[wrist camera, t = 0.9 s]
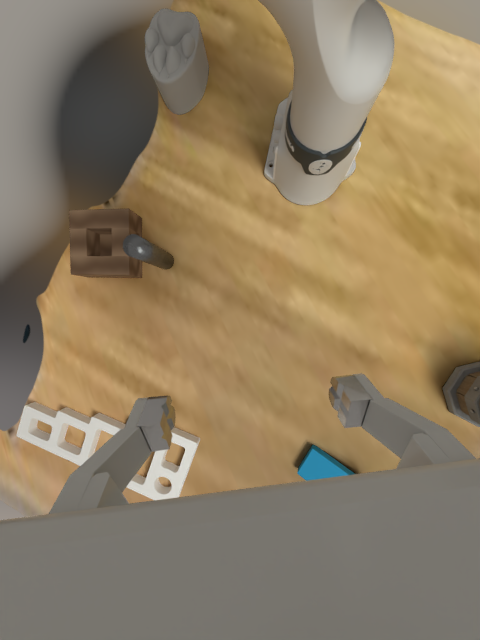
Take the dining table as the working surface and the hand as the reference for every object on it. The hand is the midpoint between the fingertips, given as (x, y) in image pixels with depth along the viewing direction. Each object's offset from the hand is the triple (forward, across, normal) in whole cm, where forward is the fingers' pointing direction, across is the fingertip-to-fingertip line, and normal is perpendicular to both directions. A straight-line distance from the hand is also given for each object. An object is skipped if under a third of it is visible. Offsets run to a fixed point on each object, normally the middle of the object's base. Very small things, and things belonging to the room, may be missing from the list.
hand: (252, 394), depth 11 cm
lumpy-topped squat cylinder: (+61, +6, -32) cm, 69 cm away
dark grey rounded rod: (+45, +15, +3) cm, 48 cm away
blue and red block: (+18, -21, +49) cm, 56 cm away
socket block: (+49, +27, 0) cm, 56 cm away
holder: (+30, +35, +42) cm, 63 cm away
